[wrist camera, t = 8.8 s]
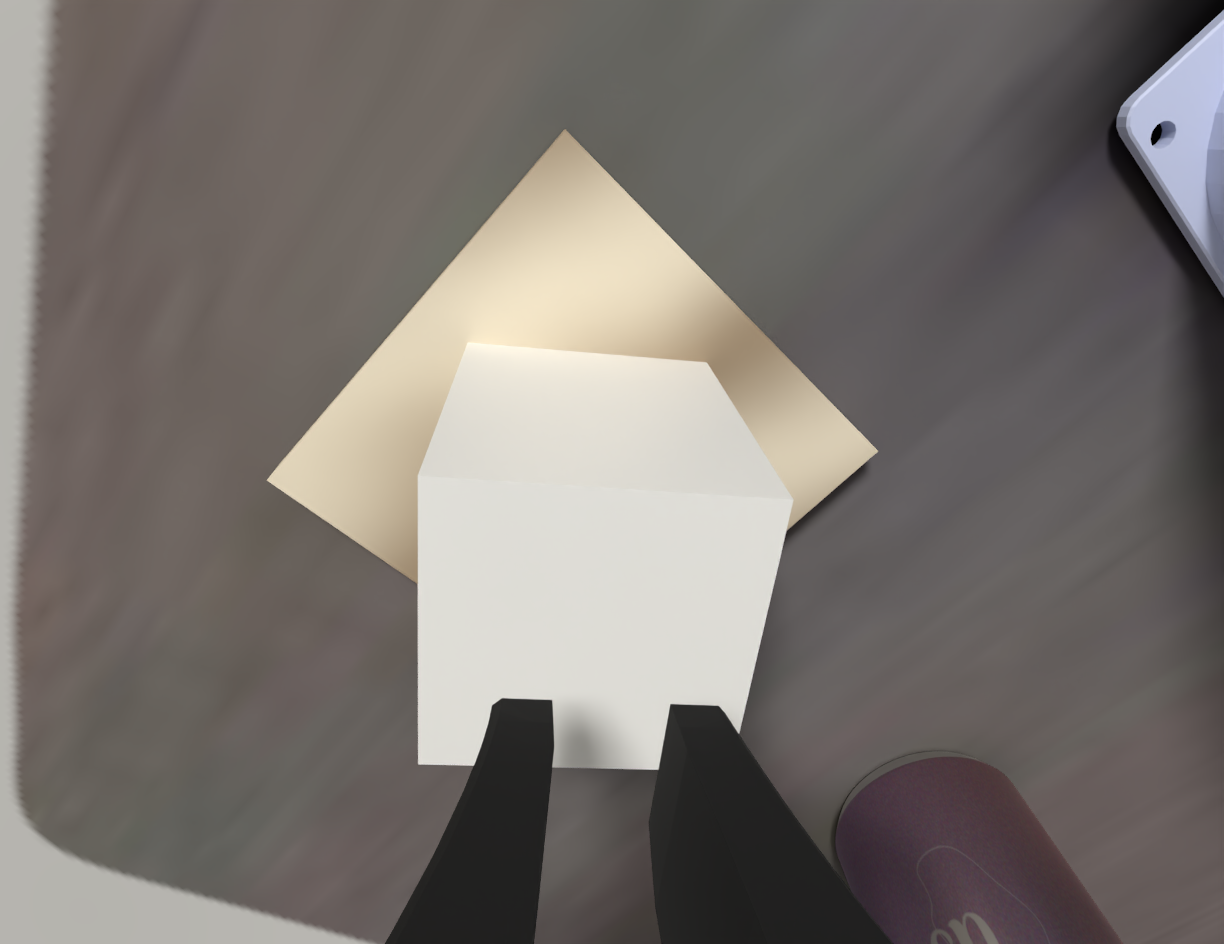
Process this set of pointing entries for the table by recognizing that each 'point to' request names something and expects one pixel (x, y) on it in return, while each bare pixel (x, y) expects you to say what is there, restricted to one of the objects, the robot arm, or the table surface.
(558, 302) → the beige square base
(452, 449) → the white rectangular block
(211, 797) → the table surface
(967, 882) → the beverage can
